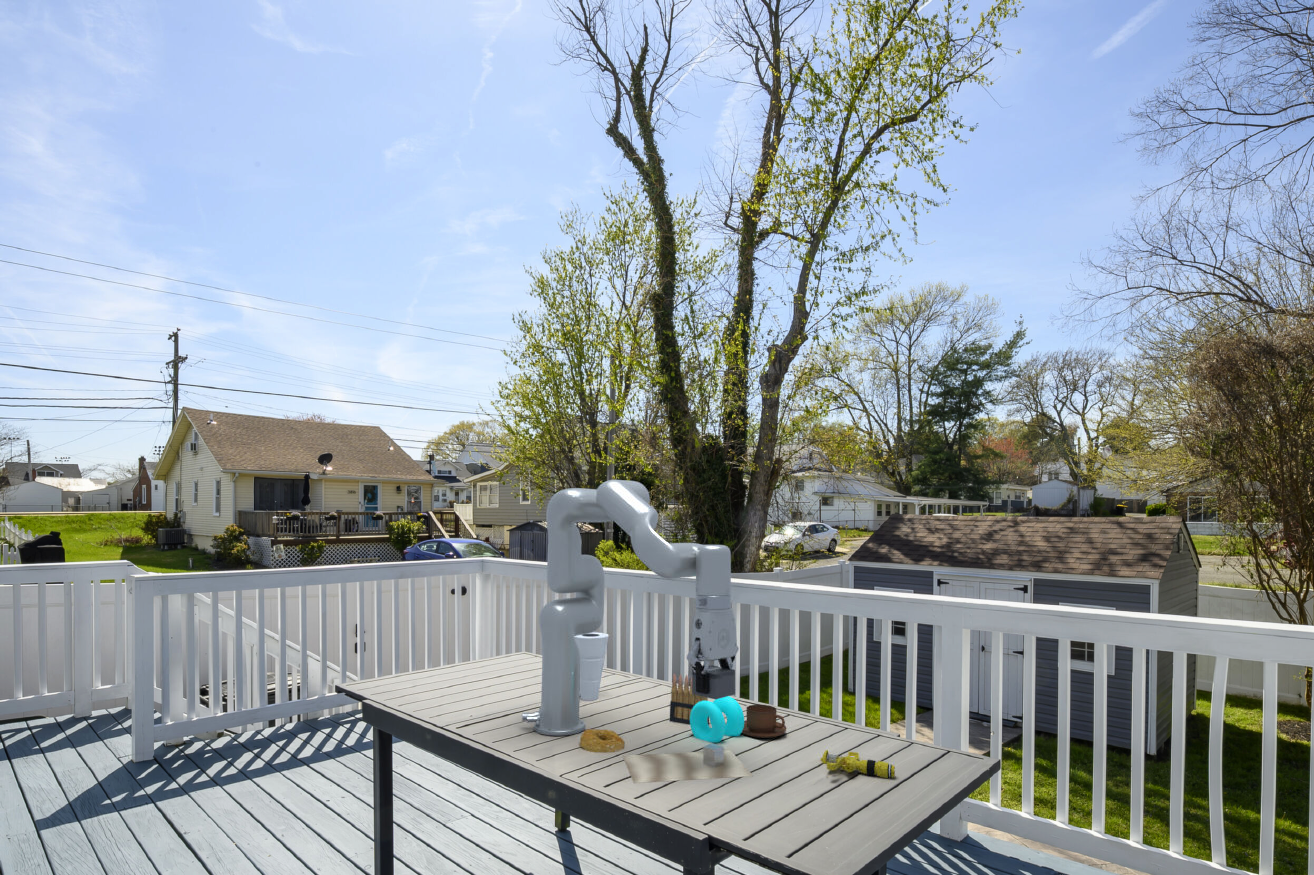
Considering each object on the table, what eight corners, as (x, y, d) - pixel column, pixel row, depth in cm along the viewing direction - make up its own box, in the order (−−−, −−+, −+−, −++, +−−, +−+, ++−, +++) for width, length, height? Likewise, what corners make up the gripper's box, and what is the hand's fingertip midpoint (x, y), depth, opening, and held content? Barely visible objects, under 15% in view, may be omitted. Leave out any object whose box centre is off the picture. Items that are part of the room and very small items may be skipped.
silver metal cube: (714, 767, 146) (714, 749, 146) (703, 763, 148) (703, 746, 148) (723, 763, 148) (723, 746, 148) (712, 760, 150) (712, 743, 150)
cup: (566, 696, 209) (567, 633, 211) (600, 692, 213) (601, 631, 216) (577, 704, 199) (579, 639, 201) (613, 701, 204) (614, 636, 206)
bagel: (596, 764, 152) (597, 741, 152) (570, 751, 160) (571, 729, 161) (634, 755, 158) (635, 733, 158) (607, 743, 166) (607, 721, 167)
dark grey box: (715, 699, 145) (715, 673, 145) (692, 693, 149) (692, 668, 150) (735, 694, 149) (735, 668, 150) (711, 689, 154) (711, 664, 154)
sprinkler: (891, 767, 138) (814, 755, 144) (891, 790, 137) (813, 776, 143) (898, 752, 155) (829, 741, 161) (898, 772, 155) (828, 760, 160)
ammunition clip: (709, 725, 180) (709, 677, 182) (706, 727, 179) (706, 678, 180) (672, 719, 186) (673, 672, 187) (669, 721, 184) (669, 673, 186)
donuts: (687, 741, 167) (687, 698, 168) (714, 733, 174) (714, 691, 175) (719, 752, 160) (719, 706, 161) (747, 742, 167) (746, 698, 168)
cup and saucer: (788, 729, 178) (788, 704, 179) (783, 744, 167) (783, 716, 168) (741, 725, 182) (741, 700, 182) (733, 739, 170) (733, 712, 171)
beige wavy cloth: (633, 790, 136) (633, 782, 137) (622, 763, 152) (622, 755, 152) (753, 783, 141) (753, 775, 141) (730, 757, 156) (730, 750, 157)
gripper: (699, 608, 143) (700, 700, 141) (752, 601, 155) (752, 686, 153) (672, 604, 148) (672, 693, 146) (725, 598, 160) (725, 681, 158)
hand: (713, 689), depth 149 cm, fingers closed on dark grey box, 6 cm apart
